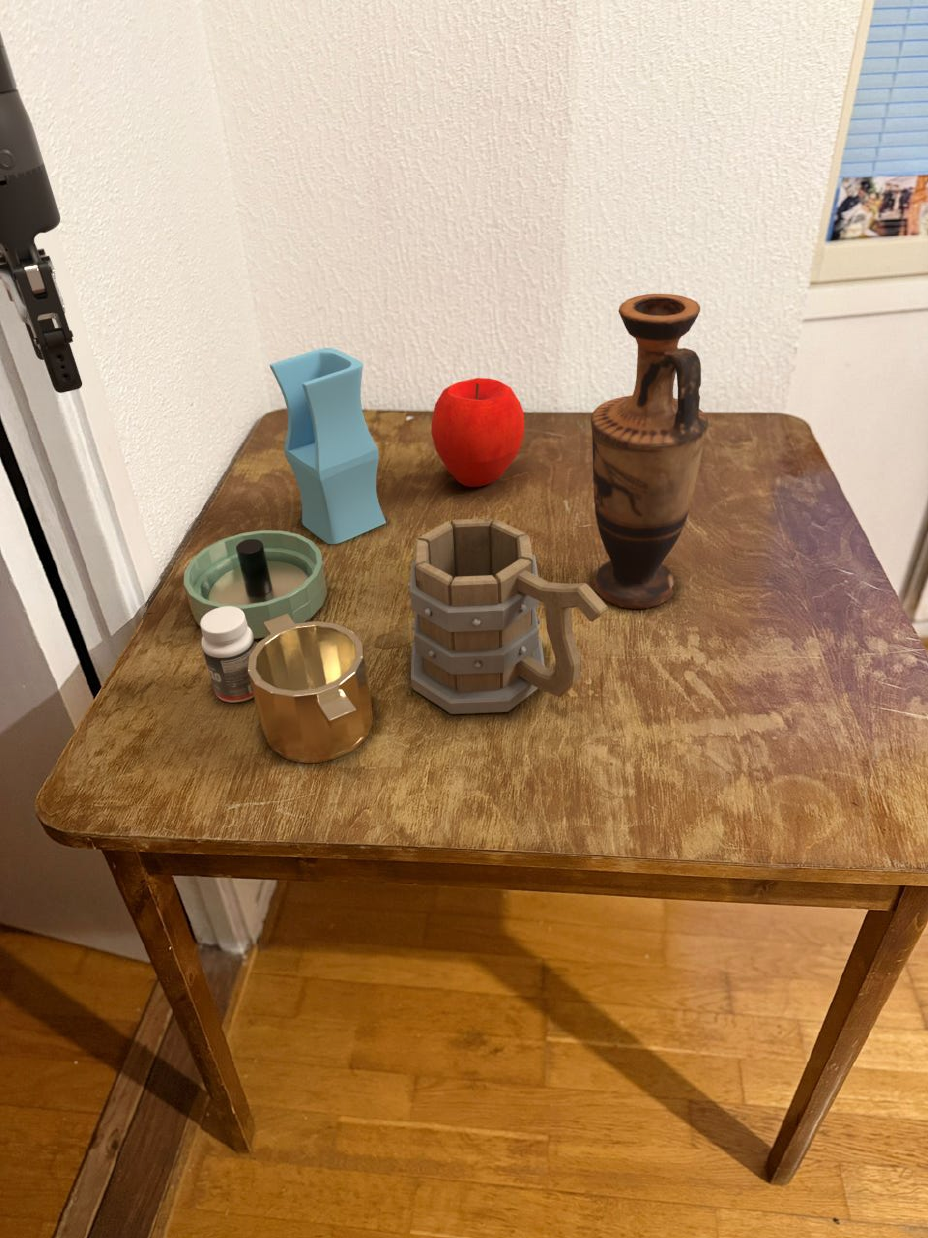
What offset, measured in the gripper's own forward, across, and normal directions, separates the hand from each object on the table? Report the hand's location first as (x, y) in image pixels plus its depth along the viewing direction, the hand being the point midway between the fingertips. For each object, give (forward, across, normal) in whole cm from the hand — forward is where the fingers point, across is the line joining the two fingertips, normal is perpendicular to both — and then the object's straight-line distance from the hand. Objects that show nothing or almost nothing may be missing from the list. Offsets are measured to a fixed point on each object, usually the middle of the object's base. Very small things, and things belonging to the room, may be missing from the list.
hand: (59, 372), depth 76 cm
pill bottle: (+28, +14, +5) cm, 32 cm away
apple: (+28, -7, +45) cm, 54 cm away
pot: (+28, +23, +10) cm, 38 cm away
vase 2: (+28, +22, +47) cm, 59 cm away
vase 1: (+28, -8, +26) cm, 39 cm away
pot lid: (+27, +2, +12) cm, 30 cm away
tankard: (+28, +28, +27) cm, 48 cm away
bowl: (+28, +2, +12) cm, 31 cm away
